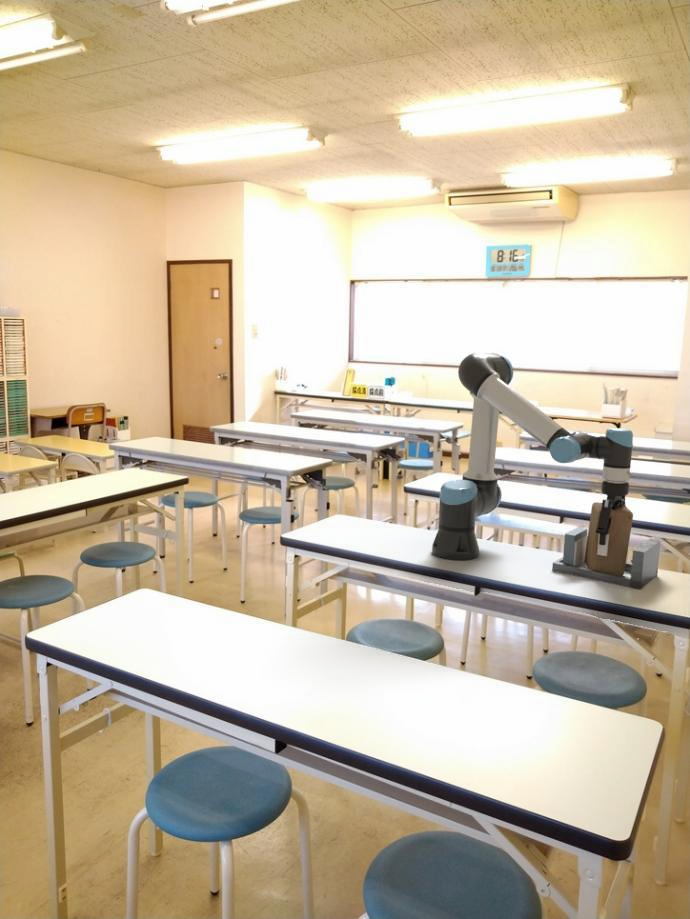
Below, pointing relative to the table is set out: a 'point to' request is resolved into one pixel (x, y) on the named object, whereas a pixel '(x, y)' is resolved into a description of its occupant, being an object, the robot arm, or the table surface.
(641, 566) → the vise bed
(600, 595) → the table surface
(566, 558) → the block
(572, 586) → the table surface
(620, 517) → the wooden block
